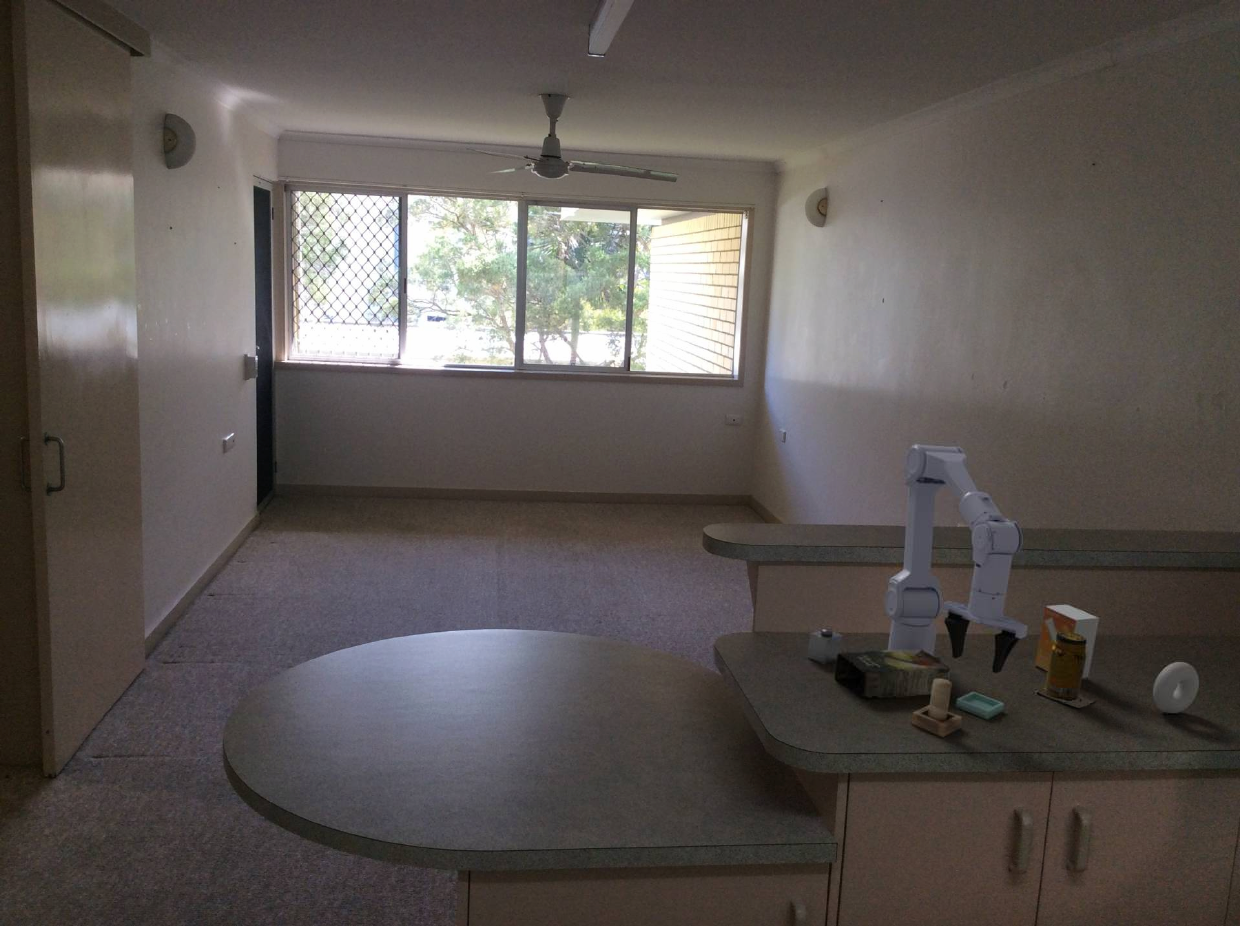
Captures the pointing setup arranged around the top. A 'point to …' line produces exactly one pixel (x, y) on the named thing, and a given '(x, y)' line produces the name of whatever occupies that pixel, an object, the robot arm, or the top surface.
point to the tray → (980, 705)
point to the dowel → (939, 699)
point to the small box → (1065, 621)
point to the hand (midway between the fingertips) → (976, 663)
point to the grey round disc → (1167, 682)
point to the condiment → (1066, 666)
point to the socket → (936, 722)
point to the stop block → (824, 645)
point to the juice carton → (892, 672)
